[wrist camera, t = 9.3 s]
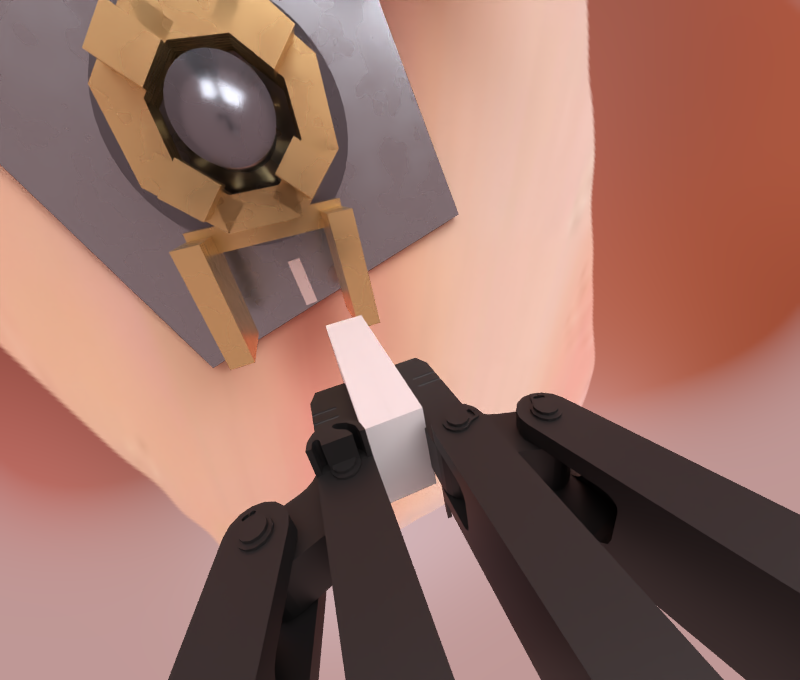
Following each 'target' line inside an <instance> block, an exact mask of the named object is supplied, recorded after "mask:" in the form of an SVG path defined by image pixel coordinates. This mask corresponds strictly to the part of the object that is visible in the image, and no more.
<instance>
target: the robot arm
mask: <svg viewBox="0 0 800 680" xmlns="http://www.w3.org/2000/svg"><path fill="white" fill-rule="evenodd" d="M326 329H327V332H328V335H329V338H330V341H331V344H332V348H333V351H334V354H335V357H336V360H337V363H338V366H339V370H340V373H341V376H342V379H343V382H344V383H343V384H341V385H338V386H335V387H332V388H329V389H326V390H323V391H320V392H317V393H315V395H314V397H313V400H312V402H311V404H310V405H311V411H312V416H313V417H312V418H313V424H314V431H315V432H314V433H313V434H312V436H311V437H310V439H309V440H308V442H307V446H306V454H307V456H308V458H309V461H310V463H311V465H312V467H313V470H314V472H315V474H316V476H315V478H314V480H313V482H312V483H311V484H310V485H309V486H308V488H307V489H306V490H304V491H303V492H302V493H301V494H300V495H298V496H297V497H296V498H294V499H293V500H291V501H290V502H289V503H287V504H286V505H284V506H283V505H281V504H279V503H277V502H263V503H260V504H258V505H255V506H252V507H251V508H249V509H248V510H246V511H245V512H243V513H242V514H240V515H239V516H238V518H237V519H236V520H235V521H234V522H233V523H232V524H231V525H230V526H229V528H228V530H227V532H226V533H225V535H224V537H223V539H222V541H221V544H220V546H219V549H218V552H217V555H216V557H215V559H214V562H213V565H212V567H211V570H210V572H209V575H208V578H207V580H206V583H205V585H204V588H203V591H202V593H201V596H200V599H199V601H198V604H197V606H196V609H195V612H194V614H193V617H192V619H191V622H190V624H189V627H188V630H187V632H186V635H185V637H184V640H183V642H182V645H181V648H180V650H179V653H178V656H177V658H176V661H175V663H174V666H173V669H172V671H171V674H170V676H169V679H168V680H318V679H319V668H320V656H321V646H322V635H323V623H324V613H325V601H326V591H327V590H328V589H329V588H330V587H331V586H333V593H334V600H335V607H336V615H337V622H338V628H339V636H340V642H341V650H342V657H343V664H344V671H345V678H346V680H455V679H454V677H453V674H452V671H451V669H450V666H449V663H448V660H447V657H446V655H445V652H444V649H443V646H442V644H441V641H440V638H439V636H438V633H437V630H436V628H435V624H434V622H433V619H432V616H431V613H430V611H429V608H428V605H427V602H426V600H425V597H424V594H423V591H422V589H421V586H420V583H419V581H418V578H417V575H416V572H415V569H414V566H413V564H412V561H411V558H410V556H409V553H408V550H407V547H406V545H405V542H404V539H403V536H402V534H401V531H400V528H399V525H398V522H397V520H396V517H395V514H394V511H393V509H392V506H391V503H392V502H394V501H396V500H399V499H401V498H403V497H406V496H408V495H410V494H413V493H415V492H417V491H419V490H422V489H424V488H426V487H429V486H431V485H433V484H436V478H435V474H436V476H437V477H438V479H439V481H440V483H441V485H442V490H443V496H444V501H445V507H446V512H447V515H448V518H450V517H452V514H453V516H454V518H455V520H456V521H457V523H458V525H459V527H460V529H461V530H462V533H463V534H464V536H465V538H466V540H467V542H468V544H469V546H470V547H471V550H472V551H473V553H474V555H475V557H476V559H477V561H478V563H479V565H480V566H481V568H482V570H483V572H484V574H485V576H486V578H487V580H488V581H489V583H490V585H491V587H492V589H493V591H494V593H495V594H496V596H497V598H498V600H499V602H500V604H501V606H502V607H503V609H504V611H505V613H506V615H507V617H508V619H509V620H510V623H511V624H512V626H513V628H514V630H515V632H516V634H517V636H518V638H519V639H520V641H521V643H522V645H523V647H524V649H525V650H526V653H527V654H528V656H529V658H530V660H531V661H532V664H533V666H534V667H535V669H536V671H537V673H538V675H539V677H540V679H541V680H723V679H722V678H721V676H720V675H719V674H718V673H717V672H716V671H715V670H714V669H713V667H711V666H710V664H709V663H708V662H707V661H706V660H705V659H704V658H703V657H702V655H701V654H700V653H699V652H698V651H697V650H696V649H695V648H694V647H693V645H692V644H691V643H690V642H689V641H688V640H687V639H686V638H685V637H684V635H683V634H682V633H681V632H680V631H679V630H678V629H677V628H676V627H675V625H674V624H673V623H672V622H671V621H670V620H669V619H668V618H667V617H666V616H665V615H664V614H663V612H662V611H661V610H660V609H662V610H663V611H664V612H665V613H667V614H668V615H669V616H670V617H671V618H672V619H674V620H675V621H676V622H677V623H678V624H680V625H681V626H682V627H683V628H684V629H686V630H687V631H688V632H689V633H690V634H692V635H693V636H694V637H695V638H696V639H698V640H699V641H700V642H701V643H702V644H704V645H705V646H706V647H707V648H708V649H710V650H711V651H712V652H714V654H716V655H717V656H718V657H719V658H720V659H722V660H723V661H724V662H725V663H726V664H728V665H729V666H730V667H732V668H733V669H734V670H735V671H736V672H737V673H738V674H740V675H741V676H742V677H743V678H744V679H746V680H800V515H799V514H797V513H795V512H793V511H791V510H789V509H787V508H785V507H783V506H781V505H779V504H777V503H775V502H773V501H771V500H769V499H767V498H765V497H763V496H761V495H759V494H757V493H755V492H753V491H751V490H749V489H747V488H745V487H743V486H741V485H739V484H737V483H735V482H733V481H731V480H729V479H726V478H724V477H722V476H720V475H718V474H716V473H714V472H712V471H710V470H708V469H706V468H704V467H702V466H700V465H698V464H696V463H694V462H692V461H690V460H688V459H686V458H684V457H682V456H680V455H678V454H676V453H674V452H672V451H670V450H668V449H666V448H664V447H662V446H660V445H658V444H655V443H654V442H652V441H650V440H648V439H645V438H643V437H641V436H640V435H637V434H635V433H633V432H631V431H629V430H627V429H625V428H623V427H621V426H619V425H617V424H615V423H613V422H611V421H609V420H607V419H605V418H603V417H601V416H599V415H597V414H595V413H593V412H591V411H589V410H587V409H585V408H583V407H581V406H579V405H577V404H575V403H573V402H571V401H569V400H567V399H565V398H563V397H560V396H557V395H554V394H549V393H534V394H530V395H527V396H525V397H523V398H522V399H521V400H520V401H519V402H518V403H517V408H516V412H510V413H502V414H483V413H482V412H481V411H479V410H478V409H476V408H475V407H473V406H470V405H467V404H462V403H461V402H460V401H459V400H458V399H457V397H456V396H455V395H454V394H453V393H452V392H451V390H450V389H449V388H448V387H447V386H446V385H445V383H444V382H443V381H442V380H441V379H440V378H439V376H438V375H437V374H436V373H434V371H433V369H432V368H431V367H430V366H429V365H428V364H427V363H426V362H424V361H421V360H419V359H417V358H414V359H411V360H408V361H405V362H402V363H399V364H396V365H394V364H393V362H392V361H391V359H390V358H389V356H388V355H387V353H386V352H385V350H384V349H383V347H382V346H381V344H380V343H379V341H378V340H377V338H376V337H375V335H374V334H373V332H372V331H371V329H370V328H369V326H368V325H367V323H366V322H365V320H364V319H363V317H362V315H360V316H356V317H353V318H350V319H346V320H343V321H340V322H336V323H333V324H330V325H326ZM434 472H435V473H434ZM451 512H452V513H451ZM656 605H657V606H658V607H659V608H660V609H659V608H658V607H657V606H656Z"/></svg>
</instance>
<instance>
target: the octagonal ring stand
mask: <svg viewBox="0 0 800 680" xmlns="http://www.w3.org/2000/svg"><path fill="white" fill-rule="evenodd" d="M294 29H295V23H294V22H293V21H291V20H290V19H289V18H288V17H287V16H286V15H285V14H284V13H283V12H281V11H280V10H279V9H278V8H277V7H276V6H275V5H274V4H273V3H272V2H270V1H269V0H117V3H116V5H114V4H113V3H112V2H110V1H109V0H98V2H97V5H96V8H95V11H94V14H93V17H92V20H91V23H90V26H89V29H88V31H87V34H86V37H85V40H84V43H83V46H82V48H83V49H84V50H86V51H87V52H88V53H90V54H91V55H93V56H94V57H95V58H97V59H96V62H95V65H94V68H93V70H92V73H91V76H90V79H89V82H88V85H89V87H90V89H91V91H92V93H93V95H94V97H95V99H96V100H97V102H98V104H99V106H100V108H101V110H102V112H103V114H104V116H105V118H106V120H107V122H108V124H109V126H110V128H111V130H112V132H113V134H114V135H115V137H116V139H117V141H118V143H119V145H120V147H121V149H122V151H123V153H124V155H125V157H126V159H127V161H128V163H129V165H130V167H131V169H132V170H133V172H134V174H135V176H136V178H137V180H138V182H139V184H140V186H141V188H143V189H145V190H147V191H149V192H151V193H153V194H154V195H156V196H158V197H157V198H158V199H160V200H162V201H164V202H166V203H168V204H169V205H171V206H173V207H175V208H177V209H179V210H181V211H183V212H185V213H187V214H189V215H190V216H192V217H194V218H196V219H198V220H200V221H202V222H208V223H209V224H211V225H213V226H211V227H207V228H202V229H198V230H193V231H189V232H186V233H184V234H183V236H184V238H185V240H186V243H184V244H182V245H181V246H179V247H177V248H175V249H173V250H172V251H170V252H169V253H170V255H171V257H172V259H173V261H174V263H175V265H176V267H177V269H178V271H179V272H180V274H181V276H182V278H183V280H184V282H185V284H186V286H187V288H188V290H189V292H190V293H191V295H192V297H193V299H194V301H195V303H196V305H197V307H198V309H199V311H200V313H201V315H202V316H203V318H204V320H205V322H206V324H207V326H208V328H209V330H210V332H211V334H212V336H213V338H214V339H215V341H216V343H217V345H218V347H219V349H220V351H221V353H222V355H223V357H224V359H225V360H226V362H227V364H228V366H229V368H230V370H233V369H236V368H239V367H242V366H245V365H248V364H251V363H255V358H256V350H257V343H258V336H259V332H258V330H257V328H256V325H255V323H254V321H253V319H252V316H251V314H250V312H249V310H248V307H247V305H246V303H245V301H244V298H243V296H242V294H241V292H240V289H239V287H238V285H237V283H236V280H235V278H234V276H233V274H232V271H231V269H230V267H229V265H228V262H227V260H226V258H225V256H224V252H228V251H232V250H236V249H240V248H244V247H248V246H252V245H256V244H260V243H264V242H268V241H272V240H276V239H280V238H284V237H289V236H293V235H297V234H301V233H305V232H309V231H313V230H317V229H321V228H324V232H325V235H326V239H327V242H328V245H329V249H330V252H331V256H332V259H333V263H334V266H335V270H336V273H337V277H338V280H339V283H340V287H341V290H342V294H343V297H344V301H345V304H346V307H347V309H348V311H349V312H350V314H351V316H352V317H356V316H360V315H362V317H363V319H364V320H365V322H366V323H367V325H368V326H371V325H374V324H377V323H380V320H379V316H378V312H377V308H376V304H375V300H374V295H373V291H372V287H371V283H370V279H369V275H368V271H367V267H366V262H365V258H364V254H363V250H362V246H361V242H360V238H359V233H358V229H357V225H356V221H355V217H354V213H353V209H352V208H349V207H344V206H341V202H340V198H333V199H329V200H325V201H320V202H316V203H312V204H310V203H311V201H312V199H313V197H314V195H315V193H316V191H317V189H318V188H319V186H320V184H321V182H322V180H323V178H324V176H325V174H326V172H327V170H328V168H329V166H330V165H331V163H332V161H333V159H334V157H335V155H336V153H337V151H338V149H339V148H338V144H337V140H336V135H335V131H334V127H333V123H332V119H331V115H330V111H329V106H328V102H327V98H326V94H325V90H324V86H323V81H322V77H321V73H320V69H319V65H318V61H317V57H316V53H315V52H314V51H313V50H311V49H310V48H309V47H308V46H307V45H306V44H305V43H304V42H302V41H301V40H300V39H299V38H298V37H297V36H296V35H295V34H294ZM196 48H215V49H219V50H222V51H225V52H231V51H235V52H236V53H237V54H239V55H240V56H241V57H242V58H244V59H245V60H246V61H248V62H249V63H250V64H251V65H253V66H254V67H255V68H256V69H258V70H259V71H260V72H261V73H263V74H264V75H265V76H267V77H268V78H269V79H270V80H272V81H273V82H274V83H275V84H277V85H278V86H279V87H280V88H282V89H283V90H284V93H285V97H286V100H287V104H288V107H289V111H290V114H291V117H292V121H293V124H294V128H295V131H296V135H297V138H296V137H295V136H293V138H292V140H291V142H290V144H289V146H288V148H287V150H286V152H285V154H284V156H283V159H282V161H281V163H280V165H279V167H278V169H277V171H276V173H275V175H276V176H277V177H279V178H280V179H282V180H281V182H280V184H279V185H276V186H271V187H267V188H262V189H257V190H252V191H248V192H243V193H238V194H234V195H233V194H232V193H230V192H228V191H226V190H225V189H224V188H225V186H226V185H224V184H222V183H221V182H219V181H217V180H216V179H214V178H212V177H211V176H209V175H207V174H205V173H204V172H202V171H200V170H199V169H197V168H195V167H194V166H192V165H190V164H189V163H187V162H185V161H184V160H182V159H181V157H180V154H179V152H178V150H177V148H176V145H175V143H174V141H173V139H172V136H171V134H170V132H169V130H168V127H167V125H166V123H165V121H164V118H163V116H162V114H161V112H160V109H159V108H160V106H161V104H162V101H163V99H164V96H163V88H164V81H165V77H166V74H167V72H168V69H169V67H170V66H171V64H172V63H173V62H174V61H175V60H176V59H177V58H178V57H179V56H180V55H182V54H183V53H185V52H187V51H189V50H192V49H196Z"/></svg>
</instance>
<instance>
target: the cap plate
mask: <svg viewBox="0 0 800 680" xmlns="http://www.w3.org/2000/svg"><path fill="white" fill-rule="evenodd" d="M109 1H110V2H112V3H113V4H114V5H116V3H117V0H109ZM269 1H270V2H272V3H273V4H274V5H275V6H276V7H277V8H278V9H279V10H280V11H281V12H283V13H284V14H285V15H286V16H287V17H288V18H289V19H290V20H291V21H293V22H294V23H295V29H294V34H295V35H296V36H297V37H298V38H299V39H300V40H301V41H302V42H304V43H305V44H306V45H307V46H308V47H309V48H310V49H311V50H313V51H314V52H315V53H316V57H317V61H318V65H319V69H320V73H321V77H322V81H323V86H324V90H325V94H326V98H327V102H328V106H329V111H330V115H331V119H332V123H333V127H334V131H335V135H336V140H337V144H338V148H339V149H338V151H337V153H336V155H335V157H334V159H333V161H332V163H331V165H330V166H329V168H328V170H327V172H326V174H325V176H324V178H323V180H322V182H321V184H320V186H319V188H318V189H317V191H316V193H315V195H314V197H313V199H312V201H311V203H310V204H312V203H316V202H320V201H325V200H329V199H333V198H340V202H341V206H344V207H349V208H352V209H353V213H354V217H355V221H356V225H357V229H358V233H359V238H360V242H361V246H362V250H363V254H364V258H365V262H366V267H367V271H369V270H370V269H372V268H374V267H375V266H377V265H378V264H380V263H382V262H383V261H385V260H386V259H388V258H390V257H391V256H393V255H394V254H396V253H398V252H399V251H401V250H402V249H404V248H406V247H407V246H409V245H410V244H412V243H414V242H415V241H417V240H418V239H420V238H422V237H423V236H425V235H426V234H428V233H430V232H431V231H433V230H434V229H436V228H438V227H439V226H441V225H442V224H444V223H446V222H447V221H449V220H450V219H452V218H454V217H455V216H457V215H458V211H457V209H456V206H455V203H454V201H453V198H452V195H451V193H450V190H449V187H448V185H447V182H446V179H445V177H444V174H443V171H442V169H441V166H440V163H439V161H438V158H437V155H436V152H435V150H434V147H433V144H432V142H431V139H430V136H429V134H428V131H427V128H426V126H425V123H424V120H423V118H422V115H421V112H420V110H419V107H418V104H417V102H416V99H415V96H414V94H413V91H412V88H411V86H410V83H409V80H408V78H407V75H406V72H405V69H404V67H403V64H402V61H401V59H400V56H399V53H398V51H397V48H396V45H395V43H394V40H393V37H392V35H391V32H390V29H389V27H388V24H387V21H386V19H385V16H384V13H383V11H382V8H381V5H380V3H379V0H269ZM97 2H98V0H0V165H1V166H3V167H4V168H5V169H6V170H7V171H8V172H9V173H10V174H11V175H12V176H13V177H14V178H15V179H16V180H17V181H18V182H19V183H20V184H21V185H22V186H23V187H24V188H26V189H27V190H28V191H29V192H30V193H31V194H32V195H33V196H34V197H35V198H36V199H37V200H38V201H39V202H40V203H41V204H42V205H43V206H44V207H45V208H46V209H48V210H49V211H50V212H51V213H52V214H53V215H54V216H55V217H56V218H57V219H58V220H59V221H60V222H61V223H62V224H63V225H64V226H65V227H66V228H67V229H68V230H69V231H71V232H72V233H73V234H74V235H75V236H76V237H77V238H78V239H79V240H80V241H81V242H82V243H83V244H84V245H85V246H86V247H87V248H88V249H89V250H90V251H91V252H92V253H94V254H95V255H96V256H97V257H98V258H99V259H100V260H101V261H102V262H103V263H104V264H105V265H106V266H107V267H108V268H109V269H110V270H111V271H112V272H113V273H114V274H115V275H117V276H118V277H119V278H120V279H121V280H122V281H123V282H124V283H125V284H126V285H127V286H128V287H129V288H130V289H131V290H132V291H133V292H134V293H135V294H136V295H137V296H138V297H140V298H141V299H142V300H143V301H144V302H145V303H146V304H147V305H148V306H149V307H150V308H151V309H152V310H153V311H154V312H155V313H156V314H157V315H158V316H159V317H160V318H161V319H163V320H164V321H165V322H166V323H167V324H168V325H169V326H170V327H171V328H172V329H173V330H174V331H175V332H176V333H177V334H178V335H179V336H180V337H181V338H182V339H183V340H184V341H186V342H187V343H188V344H189V345H190V346H191V347H192V348H193V349H194V350H195V351H196V352H197V353H198V354H199V355H200V356H201V357H202V358H203V359H204V360H205V361H206V362H207V363H209V364H210V365H211V366H212V367H213V368H214V367H215V366H217V365H219V364H220V363H222V362H223V361H225V359H224V357H223V355H222V353H221V351H220V349H219V347H218V345H217V343H216V341H215V339H214V338H213V336H212V334H211V332H210V330H209V328H208V326H207V324H206V322H205V320H204V318H203V316H202V315H201V313H200V311H199V309H198V307H197V305H196V303H195V301H194V299H193V297H192V295H191V293H190V292H189V290H188V288H187V286H186V284H185V282H184V280H183V278H182V276H181V274H180V272H179V271H178V269H177V267H176V265H175V263H174V261H173V259H172V257H171V255H170V253H169V252H170V251H172V250H173V249H175V248H177V247H179V246H181V245H182V244H184V243H186V240H185V238H184V236H183V234H184V233H186V232H189V231H193V230H198V229H202V228H207V227H211V226H213V225H211V224H209V223H208V222H202V221H200V220H198V219H196V218H194V217H192V216H190V215H189V214H187V213H185V212H183V211H181V210H179V209H177V208H175V207H173V206H171V205H169V204H168V203H166V202H164V201H162V200H160V199H158V198H157V197H158V196H156V195H154V194H153V193H151V192H149V191H147V190H145V189H143V188H141V186H140V184H139V182H138V180H137V178H136V176H135V174H134V172H133V170H132V169H131V167H130V165H129V163H128V161H127V159H126V157H125V155H124V153H123V151H122V149H121V147H120V145H119V143H118V141H117V139H116V137H115V135H114V134H113V132H112V130H111V128H110V126H109V124H108V122H107V120H106V118H105V116H104V114H103V112H102V110H101V108H100V106H99V104H98V102H97V100H96V99H95V97H94V95H93V93H92V91H91V89H90V87H89V85H88V82H89V79H90V76H91V73H92V70H93V68H94V65H95V62H96V59H97V58H95V57H94V56H93V55H91V54H90V53H88V52H87V51H86V50H84V49H83V48H82V46H83V43H84V40H85V37H86V34H87V31H88V29H89V26H90V23H91V20H92V17H93V14H94V11H95V8H96V5H97ZM163 96H164V99H163V101H162V104H161V106H160V108H159V109H160V112H161V114H162V116H163V118H164V121H165V123H166V125H167V127H168V130H169V132H170V134H171V136H172V139H173V141H174V143H175V145H176V148H177V150H178V152H179V154H180V157H181V159H182V160H184V161H185V162H187V163H189V164H190V165H192V166H194V167H195V168H197V169H199V170H200V171H202V172H204V173H205V174H207V175H209V176H211V177H212V178H214V179H216V180H217V181H219V182H221V183H222V184H224V185H226V186H225V188H224V189H225V190H226V191H228V192H230V193H232V194H233V195H234V194H238V193H243V192H248V191H252V190H257V189H262V188H267V187H271V186H276V185H279V184H280V182H281V180H282V179H280V178H279V177H277V176H276V175H275V173H276V171H277V169H278V167H279V165H280V163H281V161H282V159H283V156H284V154H285V152H286V150H287V148H288V146H289V144H290V142H291V140H292V138H293V136H295V137H296V138H297V135H296V131H295V128H294V124H293V121H292V117H291V114H290V111H289V107H288V104H287V100H286V97H285V93H284V90H283V89H282V88H280V87H279V86H278V85H277V84H275V83H274V82H273V81H272V80H270V79H269V78H268V77H267V76H265V75H264V74H263V73H261V72H260V71H259V70H258V69H256V68H255V67H254V66H253V65H251V64H250V63H249V62H248V61H246V60H245V59H244V58H242V57H241V56H240V55H239V54H237V53H236V52H235V51H231V52H225V51H222V50H219V49H215V48H196V49H192V50H189V51H187V52H185V53H183V54H182V55H180V56H179V57H178V58H177V59H176V60H175V61H174V62H173V63H172V64H171V66H170V67H169V69H168V72H167V74H166V77H165V81H164V88H163ZM224 256H225V258H226V260H227V262H228V265H229V267H230V269H231V271H232V274H233V276H234V278H235V280H236V283H237V285H238V287H239V289H240V292H241V294H242V296H243V298H244V301H245V303H246V305H247V307H248V310H249V312H250V314H251V316H252V319H253V321H254V323H255V325H256V328H257V330H258V332H259V336H258V340H259V339H260V338H262V337H263V336H265V335H267V334H268V333H270V332H271V331H273V330H275V329H276V328H278V327H279V326H281V325H283V324H284V323H286V322H287V321H289V320H291V319H292V318H294V317H295V316H297V315H299V314H300V313H302V312H303V311H305V310H307V309H308V308H310V307H311V306H313V305H315V304H316V303H318V302H319V301H321V300H323V299H324V298H326V297H327V296H329V295H331V294H332V293H334V292H335V291H337V290H339V289H340V288H341V287H340V283H339V280H338V277H337V273H336V270H335V266H334V263H333V259H332V256H331V252H330V249H329V245H328V242H327V239H326V235H325V232H324V228H321V229H317V230H313V231H309V232H305V233H301V234H297V235H293V236H289V237H284V238H280V239H276V240H272V241H268V242H264V243H260V244H256V245H252V246H248V247H244V248H240V249H236V250H232V251H228V252H224Z"/></svg>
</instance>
